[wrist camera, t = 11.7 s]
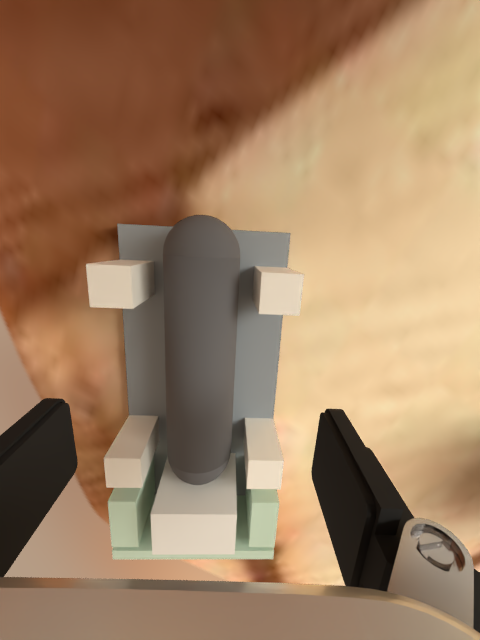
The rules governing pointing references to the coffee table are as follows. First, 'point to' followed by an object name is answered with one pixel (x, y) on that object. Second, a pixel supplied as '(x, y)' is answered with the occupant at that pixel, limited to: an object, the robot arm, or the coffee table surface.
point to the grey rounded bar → (199, 390)
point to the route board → (150, 386)
